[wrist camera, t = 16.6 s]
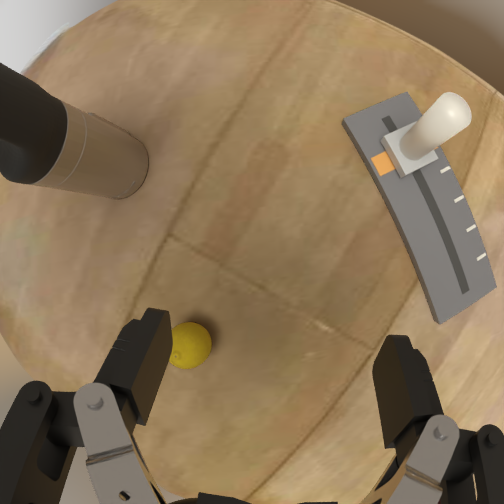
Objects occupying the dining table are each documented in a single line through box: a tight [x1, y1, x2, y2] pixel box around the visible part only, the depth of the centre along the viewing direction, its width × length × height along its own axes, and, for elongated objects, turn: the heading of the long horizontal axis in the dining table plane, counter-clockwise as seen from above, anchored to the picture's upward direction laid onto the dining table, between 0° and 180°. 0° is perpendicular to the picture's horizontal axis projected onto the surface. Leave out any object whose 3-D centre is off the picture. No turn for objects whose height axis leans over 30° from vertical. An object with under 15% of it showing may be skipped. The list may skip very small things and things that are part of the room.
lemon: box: [169, 322, 212, 369], centre depth 37 cm, size 6×6×8 cm
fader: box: [381, 92, 471, 178], centre depth 26 cm, size 5×5×14 cm
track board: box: [342, 92, 497, 324], centre depth 34 cm, size 28×10×2 cm, turn 27°
